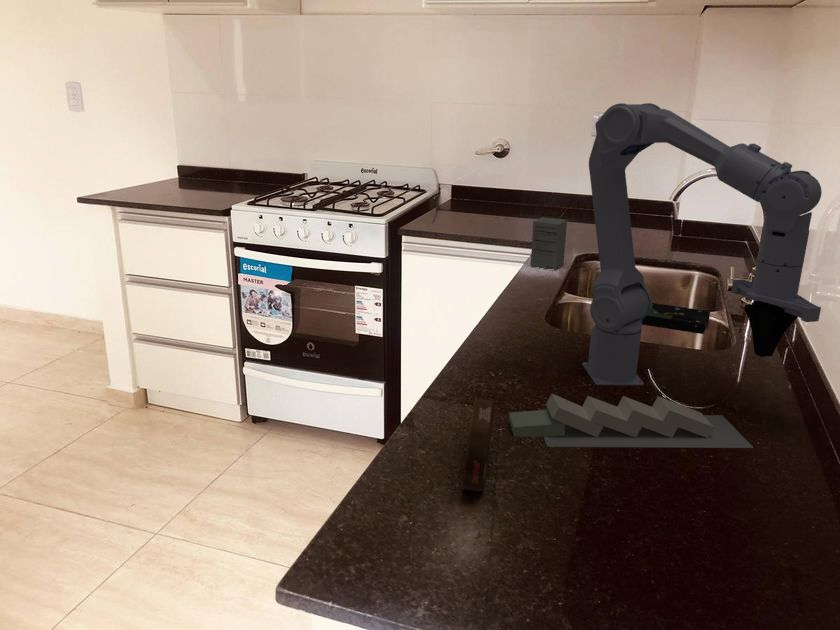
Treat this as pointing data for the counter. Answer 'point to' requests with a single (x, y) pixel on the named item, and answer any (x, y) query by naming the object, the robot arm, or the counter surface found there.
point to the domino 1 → (535, 424)
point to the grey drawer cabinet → (548, 243)
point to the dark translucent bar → (478, 445)
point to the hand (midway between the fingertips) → (763, 354)
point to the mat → (654, 438)
